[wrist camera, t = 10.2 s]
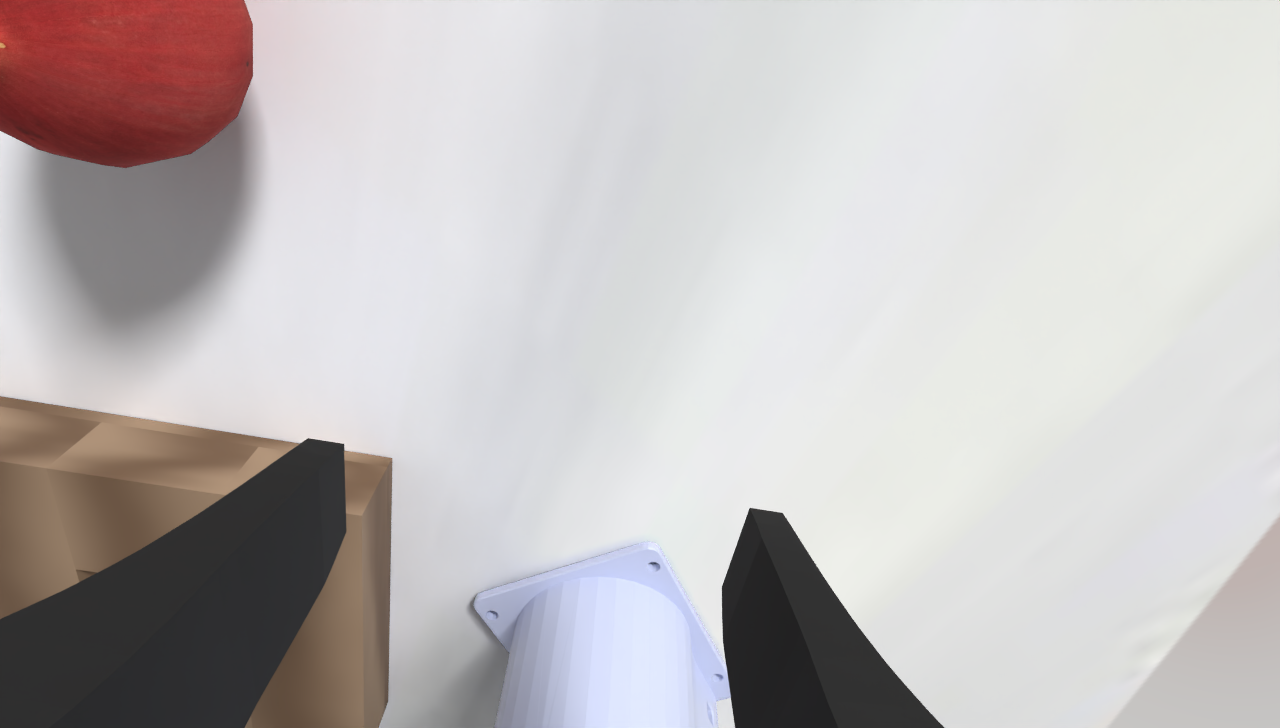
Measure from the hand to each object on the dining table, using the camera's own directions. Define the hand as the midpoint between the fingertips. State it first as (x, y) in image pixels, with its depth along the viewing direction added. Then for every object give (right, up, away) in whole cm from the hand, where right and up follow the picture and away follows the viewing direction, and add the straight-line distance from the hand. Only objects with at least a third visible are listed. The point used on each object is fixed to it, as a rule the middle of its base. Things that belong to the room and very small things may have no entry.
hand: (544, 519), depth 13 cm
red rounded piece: (-10, +12, +6) cm, 16 cm away
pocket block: (-15, -5, +15) cm, 22 cm away
